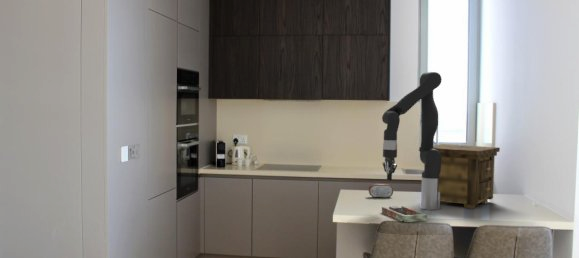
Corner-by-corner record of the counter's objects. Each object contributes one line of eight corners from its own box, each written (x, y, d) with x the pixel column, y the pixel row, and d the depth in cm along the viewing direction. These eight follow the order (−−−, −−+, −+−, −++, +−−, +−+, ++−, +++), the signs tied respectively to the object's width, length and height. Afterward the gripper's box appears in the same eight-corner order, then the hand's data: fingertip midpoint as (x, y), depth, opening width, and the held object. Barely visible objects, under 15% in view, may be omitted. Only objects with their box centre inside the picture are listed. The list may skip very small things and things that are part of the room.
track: (403, 211, 306) (403, 206, 306) (427, 220, 283) (427, 214, 283) (381, 212, 303) (381, 207, 302) (403, 222, 280) (403, 216, 280)
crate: (441, 195, 361) (443, 144, 360) (497, 202, 340) (499, 147, 339) (418, 203, 334) (419, 147, 332) (477, 210, 312) (479, 151, 311)
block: (397, 212, 305) (397, 206, 305) (402, 214, 300) (402, 207, 300) (388, 213, 303) (389, 206, 303) (393, 214, 298) (393, 208, 298)
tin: (392, 197, 354) (392, 183, 353) (393, 198, 351) (393, 184, 350) (368, 197, 353) (368, 183, 353) (369, 197, 350) (369, 184, 350)
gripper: (402, 149, 302) (401, 182, 303) (390, 147, 315) (389, 178, 316) (389, 149, 300) (388, 182, 301) (378, 147, 313) (377, 179, 314)
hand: (389, 180), depth 309 cm, fingers closed
